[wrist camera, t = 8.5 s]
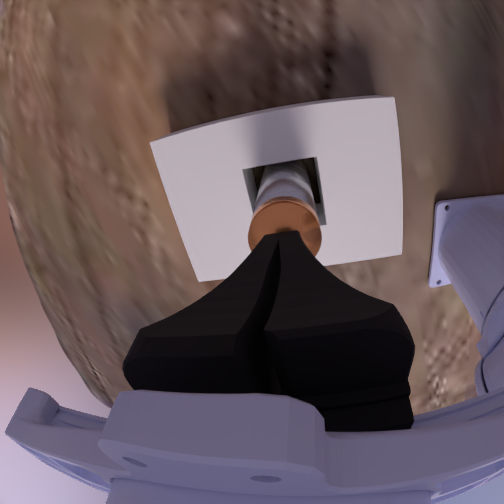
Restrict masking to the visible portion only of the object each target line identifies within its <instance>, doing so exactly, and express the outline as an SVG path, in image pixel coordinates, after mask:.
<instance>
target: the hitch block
mask: <svg viewBox="0 0 504 504" xmlns="http://www.w3.org/2000/svg"><path fill="white" fill-rule="evenodd" d="M150 145H151V148H152V151H153V154H154V158H155V161H156V164H157V167H158V170H159V173H160V176H161V179H162V182H163V185H164V188H165V191H166V194H167V197H168V200H169V203H170V206H171V209H172V212H173V214H174V217H175V220H176V223H177V226H178V228H179V231H180V234H181V237H182V239H183V242H184V245H185V248H186V250H187V253H188V256H189V258H190V261H191V263H192V266H193V269H194V271H195V274H196V276H197V279H198V282H201V281H210V280H219V279H226V278H227V277H229V276H230V275H231V274H232V273H233V272H234V271H235V269H236V268H237V267H238V266H239V265H240V264H241V263H242V262H243V261H244V260H245V259H246V258H247V256H248V255H249V254H250V253H251V250H250V247H249V244H248V232H249V228H250V224H251V220H252V216H253V212H254V208H255V204H256V200H257V196H258V191H257V187H256V183H255V178H254V174H253V170H252V167H257V166H263V165H268V164H274V163H279V162H285V161H291V160H298V159H304V158H311V157H314V163H315V169H316V175H317V181H318V188H319V194H320V201H321V203H318V204H315V207H316V211H317V216H318V220H319V224H320V229H321V234H322V243H321V247H320V249H319V252H318V253H317V255H316V256H315V257H316V259H317V260H318V261H319V262H320V263H321V264H322V265H323V266H327V265H334V264H341V263H348V262H355V261H362V260H368V259H375V258H382V257H388V256H395V255H401V254H402V236H403V193H402V168H401V153H400V141H399V131H398V122H397V114H396V106H395V99H394V97H389V96H380V95H370V96H357V97H346V98H336V99H327V100H319V101H312V102H305V103H298V104H292V105H286V106H280V107H275V108H269V109H264V110H259V111H254V112H249V113H245V114H240V115H236V116H231V117H227V118H223V119H219V120H215V121H211V122H207V123H204V124H200V125H196V126H193V127H189V128H186V129H182V130H179V131H175V132H172V133H169V134H167V135H165V136H163V137H161V138H159V139H156V140H154V141H152V142H150Z"/></svg>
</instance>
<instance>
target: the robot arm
mask: <svg viewBox="0 0 504 504" xmlns="http://www.w3.org/2000/svg"><path fill="white" fill-rule="evenodd" d="M446 205H448V207H447V209H445V206H446ZM438 280H439V281H438ZM437 281H438V282H437ZM428 284H429V286H430V287H437V286H442V285H447V284H452V285H453V287H454V289H455V290H456V292H457V293H458V295H459V297H460V298H461V300H462V302H463V303H464V305H465V307H466V309H467V310H468V312H469V314H470V315H471V317H472V319H473V321H474V323H475V324H476V326H477V328H478V330H479V332H480V334H481V336H482V337H481V339H480V341H479V342H478V344H477V345H476V346H477V348H478V350H479V352H480V354H481V357H482V359H481V360H480V361H479V362H478V364H477V366H476V369H475V384H476V391H477V395H478V396H477V397H475V398H472V399H469V400H466V401H463V402H460V403H457V404H454V405H451V406H448V407H444V408H441V409H438V410H434V411H430V412H427V413H423V414H419V415H415V416H413V412H412V408H411V404H410V399H409V395H410V393H411V391H410V386H409V382H408V376H409V373H410V369H411V366H412V362H413V358H414V352H415V345H414V342H413V338H412V336H411V333H410V331H409V329H408V327H407V325H406V323H405V321H404V320H403V318H402V316H401V315H400V313H399V312H398V310H397V309H396V307H395V306H394V305H393V304H391V303H388V302H385V301H382V300H380V299H377V298H374V297H371V296H369V295H367V294H364V293H362V292H360V291H358V290H356V289H354V288H352V287H351V286H349V285H347V284H346V283H344V282H343V281H341V280H340V279H338V278H337V277H336V276H334V275H333V274H332V273H331V272H330V271H328V270H327V269H326V268H325V267H324V266H323V265H322V264H321V263H320V262H319V261H318V260H317V259H316V257H315V256H314V255H313V254H312V253H311V251H310V250H309V249H308V247H307V246H306V244H305V243H304V241H303V240H302V238H301V235H300V232H299V231H297V230H293V231H286V232H280V233H273V234H266V235H264V236H263V238H262V239H261V240H260V242H259V243H258V244H257V245H256V247H255V248H254V249H253V250H252V252H251V253H250V254H249V255H248V256H247V258H246V259H245V260H244V261H243V262H242V263H241V264H240V265H239V266H238V267H237V268H236V269H235V271H234V272H233V273H232V274H231V275H230V276H229V277H227V278H226V279H225V280H224V281H223V282H222V283H221V284H219V285H218V286H217V287H216V288H214V289H213V290H212V291H210V292H209V293H208V294H206V295H205V296H203V297H202V298H200V299H199V300H197V301H196V302H195V303H193V304H191V305H190V306H188V307H186V308H184V309H183V310H181V311H179V312H177V313H175V314H173V315H171V316H169V317H167V318H165V319H163V320H161V321H158V322H156V323H154V324H151V325H149V326H147V327H144V328H142V329H140V330H139V332H138V334H137V336H136V338H135V340H134V342H133V344H132V346H131V348H130V350H129V352H128V354H127V356H126V358H125V360H124V362H123V368H122V369H123V372H124V376H125V378H126V379H127V381H128V382H129V384H130V385H131V387H132V388H133V389H134V390H132V391H123V392H119V394H118V396H117V398H116V400H115V402H114V404H113V407H112V409H111V411H110V414H109V416H108V418H103V417H99V416H94V415H91V414H87V413H83V412H79V411H76V410H72V409H69V408H65V407H62V406H59V404H58V403H57V402H56V401H55V400H54V399H53V398H52V397H51V396H50V395H48V394H47V393H45V392H43V391H40V390H37V389H34V388H28V390H27V392H26V393H25V395H24V397H23V399H22V400H21V402H20V404H19V406H18V408H17V410H16V411H15V413H14V415H13V417H12V419H11V421H10V423H9V424H8V427H7V428H6V431H5V433H6V435H8V436H9V437H10V438H11V439H12V440H14V441H15V442H16V443H17V444H19V445H20V446H21V447H23V448H24V449H25V450H27V451H28V452H29V453H31V454H32V455H34V456H35V457H36V458H38V459H39V460H41V461H42V462H44V463H45V464H47V465H49V466H51V467H53V468H54V469H56V470H58V471H60V472H62V473H64V474H66V475H68V476H70V477H72V478H74V479H77V480H79V481H80V482H83V483H85V484H87V485H89V486H92V487H94V488H96V489H98V490H101V491H103V492H106V493H108V494H109V495H108V499H107V501H106V504H436V503H439V502H442V501H445V500H447V499H450V498H453V497H455V496H458V495H460V494H462V493H465V492H467V491H469V490H471V489H474V488H476V487H478V486H480V485H482V484H485V483H487V482H489V481H491V480H493V479H495V478H497V477H499V476H500V475H502V474H504V194H500V195H490V196H480V197H470V198H461V199H452V200H443V201H438V202H437V203H436V205H435V216H434V232H433V244H432V254H431V263H430V271H429V278H428Z"/></svg>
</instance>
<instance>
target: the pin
mask: <svg viewBox="0 0 504 504" xmlns="http://www.w3.org/2000/svg"><path fill="white" fill-rule="evenodd" d="M293 230H297V231H299V232H300V235H301V238H302V240H303V241H304V243H305V244H306V246H307V247H308V249H309V250H310V251H311V253H312V254H313V255H314V256H316V255H317V253H318V252H319V249H320V247H321V243H322V234H321V229H320V224H319V220H318V216H317V211H316V207H315V202H314V198H313V194H312V190H311V186H310V182H309V178H308V174H307V170H306V167H305V166H304V164H303V163H302V162H301V161H300V160H299V159H298V160H291V161H285V162H279V163H274V164H268V165H266V166H265V169H264V172H263V176H262V180H261V184H260V188H259V192H258V196H257V200H256V204H255V208H254V212H253V216H252V220H251V224H250V228H249V232H248V244H249V247H250V250H251V252H252V250H253V249H254V248H255V247H256V245H257V244H258V243H259V242H260V240H261V239H262V238H263V236H264V235H266V234H273V233H280V232H286V231H293Z"/></svg>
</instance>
